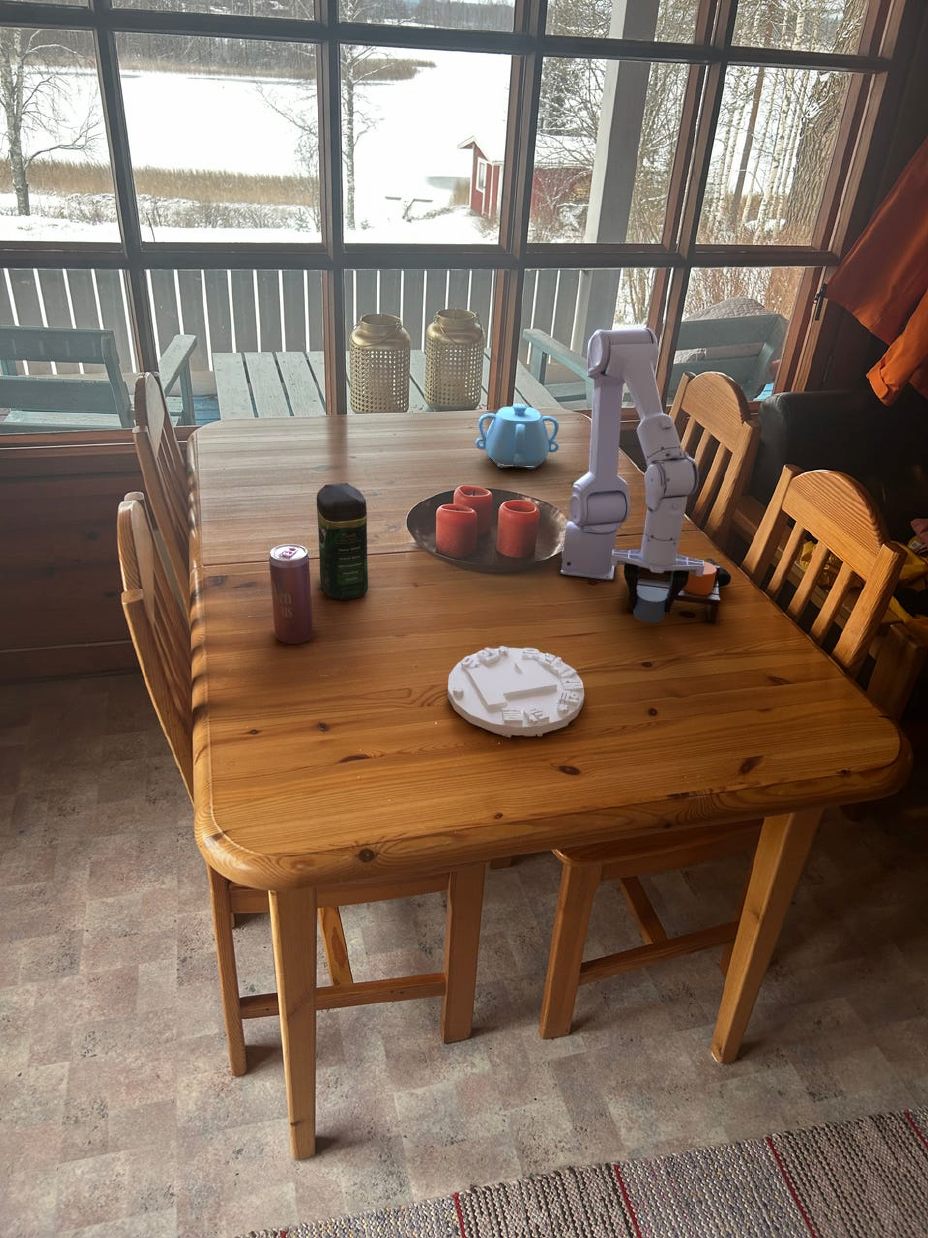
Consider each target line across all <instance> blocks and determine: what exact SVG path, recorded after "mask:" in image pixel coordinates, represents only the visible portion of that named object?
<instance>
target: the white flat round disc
mask: <svg viewBox="0 0 928 1238" xmlns="http://www.w3.org/2000/svg"><path fill="white" fill-rule="evenodd" d="M447 680H448V683H447V699H448V700H449V702H450V705H451V706H452V708H453V710H454V711H455V712H456V713H457V714H458V715H460V716H461V717H462V718H464V719H465V720H466V721H467V722H468V723H470V724H472V725H475V726H477V727H480V728H482V729H484V730H487V731H489V732H492V733H493V734H496V735H501V736H503V737H506V738H508V739H509V738H511V737H512V736H523V737H536V736H537V737H543V734H546V733H549V732H552V731H556V730H559V729H561V728H564V727H567V726H569V723H570V722H571V721H573V720H574V719H576V718H577V717H578V715H579V713H580V711H581V709H582V707H583V705H584V701H585V690H584V683H583V680H582V679H581V678H580V676H579V675H578V671H577V670H576V669H574V668H573V667H571V666H570V665H569V664H566V663H565V662H563V661H562V657H559V656H557V657H556V655H553V654H551V653H548V652H546V653H543V652H542V651H540V650H539V649H537V648H533V647H523V648H518V647H507V646H504V645H500V646H499V647H498V648H493V647H491V648H490V647H488V646H487V647H484V649H481V650H479V651H477V652H476V653H472V654H471V655H466V656H465V657H463V659H461V660H460V661H458V662H457V663H456V665H455V666H454V667H453V668H452V670H451V671H450V673H449V674H448V679H447Z"/></svg>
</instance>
